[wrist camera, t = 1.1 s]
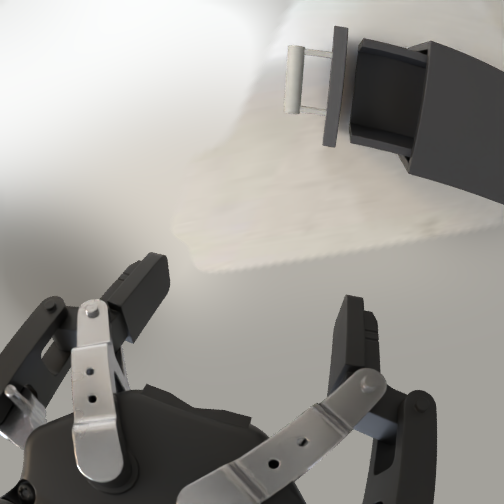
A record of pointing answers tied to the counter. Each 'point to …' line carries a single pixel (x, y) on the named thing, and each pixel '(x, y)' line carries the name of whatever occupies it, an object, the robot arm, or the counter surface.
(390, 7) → the counter surface
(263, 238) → the counter surface
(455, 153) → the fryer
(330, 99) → the dark grey drawer
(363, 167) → the counter surface
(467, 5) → the counter surface
